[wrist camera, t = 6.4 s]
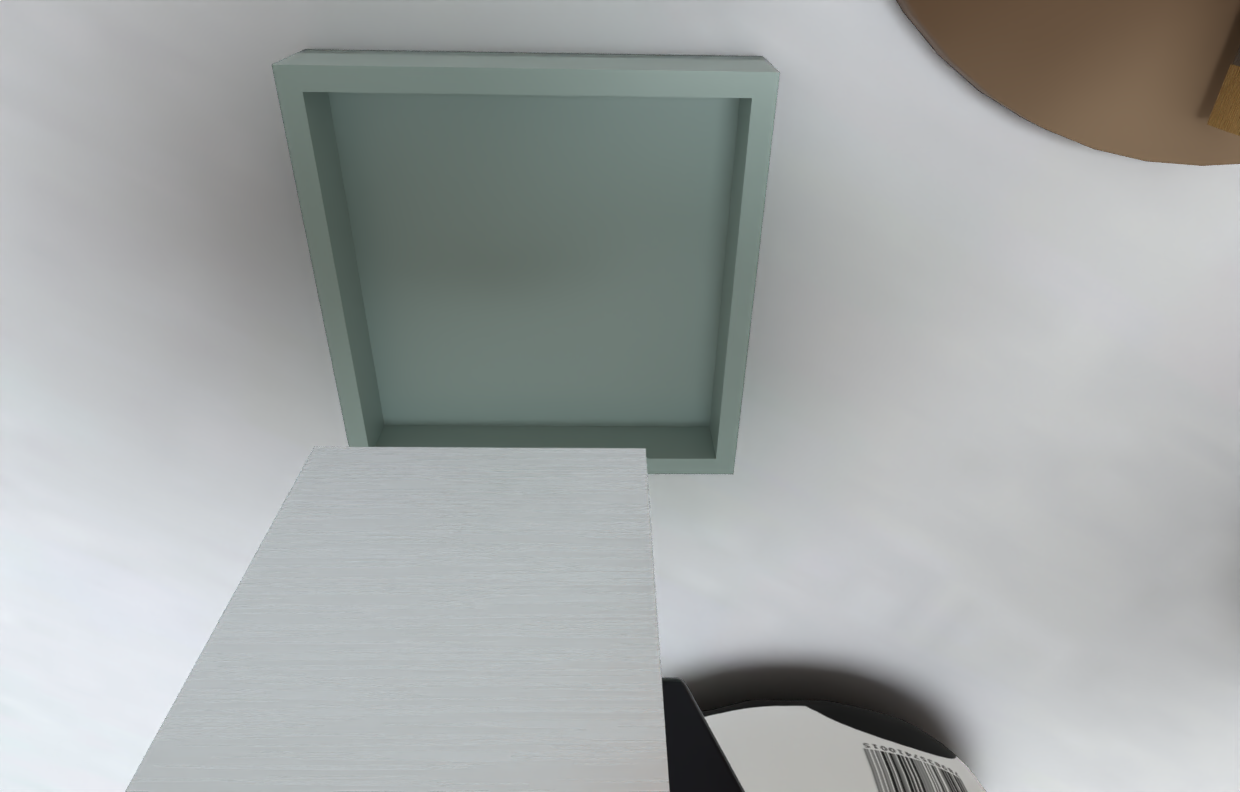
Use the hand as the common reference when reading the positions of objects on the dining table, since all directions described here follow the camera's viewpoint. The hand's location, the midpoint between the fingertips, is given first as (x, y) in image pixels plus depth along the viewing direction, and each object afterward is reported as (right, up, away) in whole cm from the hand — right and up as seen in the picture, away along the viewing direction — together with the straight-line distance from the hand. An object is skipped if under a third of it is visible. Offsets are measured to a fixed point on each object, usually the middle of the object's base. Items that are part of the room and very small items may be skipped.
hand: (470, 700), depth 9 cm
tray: (0, +7, +11) cm, 13 cm away
